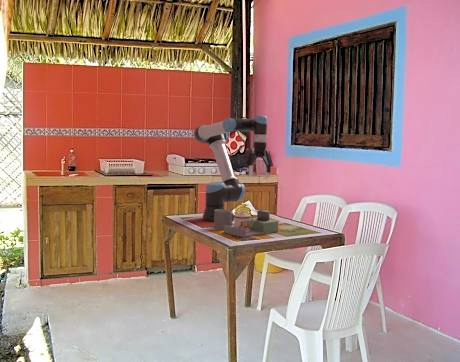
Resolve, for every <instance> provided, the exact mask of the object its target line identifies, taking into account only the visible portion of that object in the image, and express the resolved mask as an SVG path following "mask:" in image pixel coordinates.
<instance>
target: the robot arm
mask: <svg viewBox="0 0 460 362" xmlns="http://www.w3.org/2000/svg"><path fill="white" fill-rule="evenodd" d="M267 129H268V117H267V116H266V115H255V116H254V117H253V118H236V117H234V118H233V117H229V118H228V117H227V118H225V119H224V120H222V121H219V122H215V123H211V124H207V125H206V124H202V125H199V126H197V127H196V128H195V129H194V131H193V137H194V139H195V140H196V141H197V142H198V143H200V144H208V146H209V148H210V149H211V150H212V151H213V155H214V158H215V162H216V166H217V168H218V172H219V174H220V179H221V181H212V182H209V183H207V184H206V185H205V207H204V210H203V214H202V221H206V222H214V210H217V209H225V203H230V202H231V203H232V202H234V203H235V202H240V201H243V199H244V197H245V194H246V187H245V185H244V184H243V182H240V181H239V178H238V177H236V176H235V173H234V169H233V166H232V163H231V161H230V160H231V159H230V157H229V154H228V151H227V147H226V143H227V141H228V133H232V132H253V149H251V148H250V149H249V150H250V151H249V155H248V157H247V159H246V162H245V164H246V165H248V177H254V163H255V162H256V160H257V158H261V159H262V161H263V163H264V164H265V166H266V167H265V175H264V176H265V177H264V178H265V179H270V174H271V167H274V163H273V160H272V157H271V154H270V153H271V151H270V150H269V149H267V131H268V130H267ZM266 149H267V150H266Z"/></svg>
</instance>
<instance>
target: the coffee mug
mask: <svg viewBox="0 0 460 362" xmlns="http://www.w3.org/2000/svg"><path fill="white" fill-rule="evenodd" d="M234 215H235V213H233V212H232V210H231V209H227V208H226V209H225V208H224V209H217V210H214V221H213V228H215V229H217V230H224V225H227V226H231V227H232V223H233V222H234Z"/></svg>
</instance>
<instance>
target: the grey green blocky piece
mask: <svg viewBox="0 0 460 362" xmlns="http://www.w3.org/2000/svg"><path fill="white" fill-rule="evenodd" d="M256 212H257V213H256V214H257V215H256V217H251V218H252V219H253V220H254V223H253V225H252V226H251V227H250V232H248V233H245V232H246V230H244V229H240V228H236V227H234V226H232V225H231V226H227V225H224V229H223V233H225V234H229V235H233V236H237V237H241V238H248V237H253V236H259V235H266V234H271V233H277V232H279V220H275V219H270V210H268V209H260V210H257V211H256ZM251 223H252V220H251V219H250V225H251Z"/></svg>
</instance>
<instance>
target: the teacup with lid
mask: <svg viewBox="0 0 460 362" xmlns="http://www.w3.org/2000/svg"><path fill="white" fill-rule="evenodd" d="M252 218H253V217H251V215H250V214H248V213H247V212H245V210H240V212H238V213H234V220H233V222H234V224H233V225H234V226H233V227H236V228H240V229H244V230H246V232H245V233H248V232H250V227H251V226H252V225H253V223H254V220H253V219H252ZM250 219H251V220H252V223H251V225H250Z"/></svg>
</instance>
